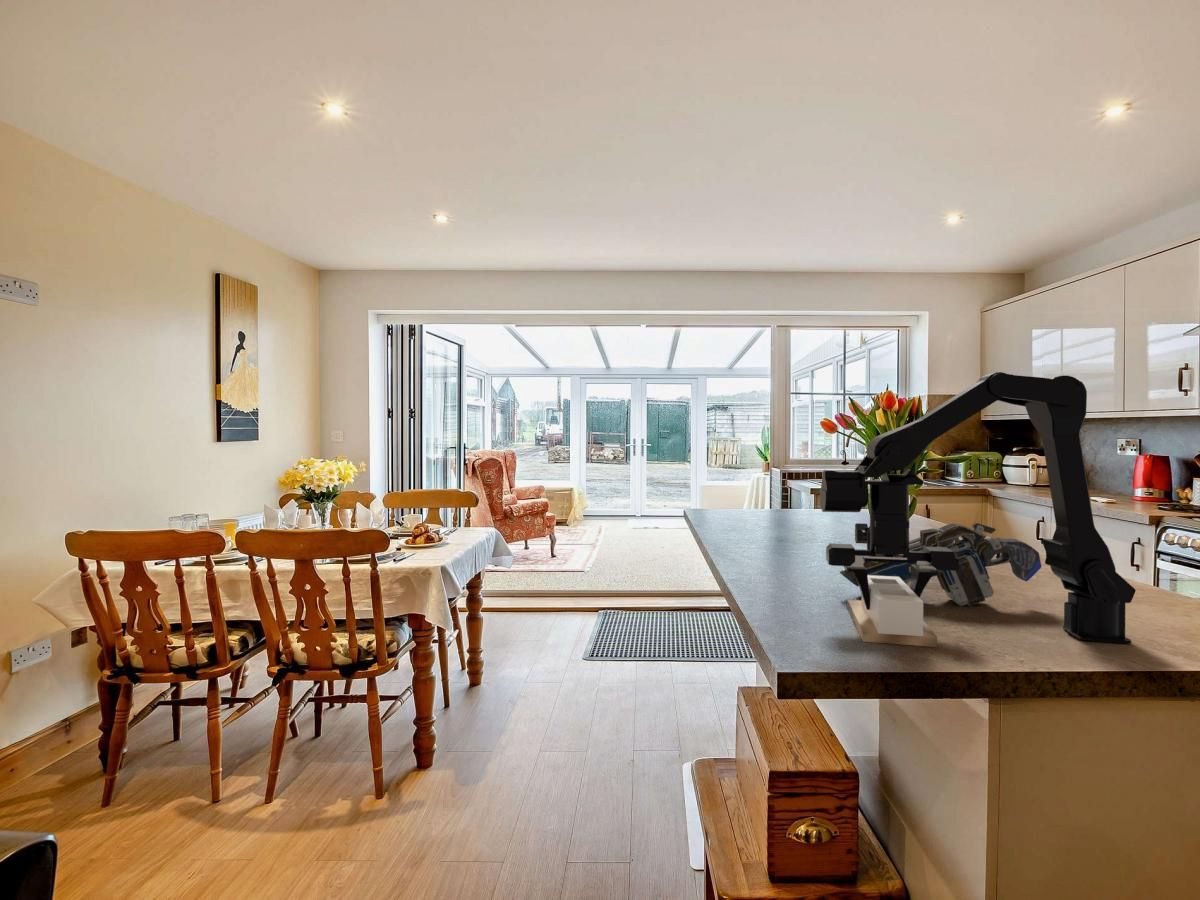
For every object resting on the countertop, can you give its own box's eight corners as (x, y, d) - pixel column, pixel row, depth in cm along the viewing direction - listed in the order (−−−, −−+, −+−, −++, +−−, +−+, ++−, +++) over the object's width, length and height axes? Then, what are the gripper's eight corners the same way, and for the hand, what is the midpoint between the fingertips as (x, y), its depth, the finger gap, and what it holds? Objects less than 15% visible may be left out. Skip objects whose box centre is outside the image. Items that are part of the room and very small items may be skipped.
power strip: (861, 603, 111) (861, 574, 111) (898, 605, 109) (898, 576, 109) (878, 633, 94) (878, 599, 94) (923, 636, 92) (923, 601, 92)
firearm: (1057, 581, 110) (1021, 500, 111) (869, 640, 117) (837, 564, 118) (1036, 572, 118) (1003, 496, 119) (861, 628, 125) (831, 556, 126)
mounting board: (908, 611, 111) (908, 582, 111) (936, 646, 92) (936, 611, 92) (847, 607, 114) (847, 579, 114) (862, 641, 95) (862, 607, 94)
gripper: (940, 509, 107) (940, 601, 107) (823, 506, 112) (823, 595, 112) (959, 516, 96) (959, 619, 96) (829, 513, 101) (829, 611, 101)
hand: (889, 610), depth 102 cm, fingers closed on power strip, 6 cm apart
